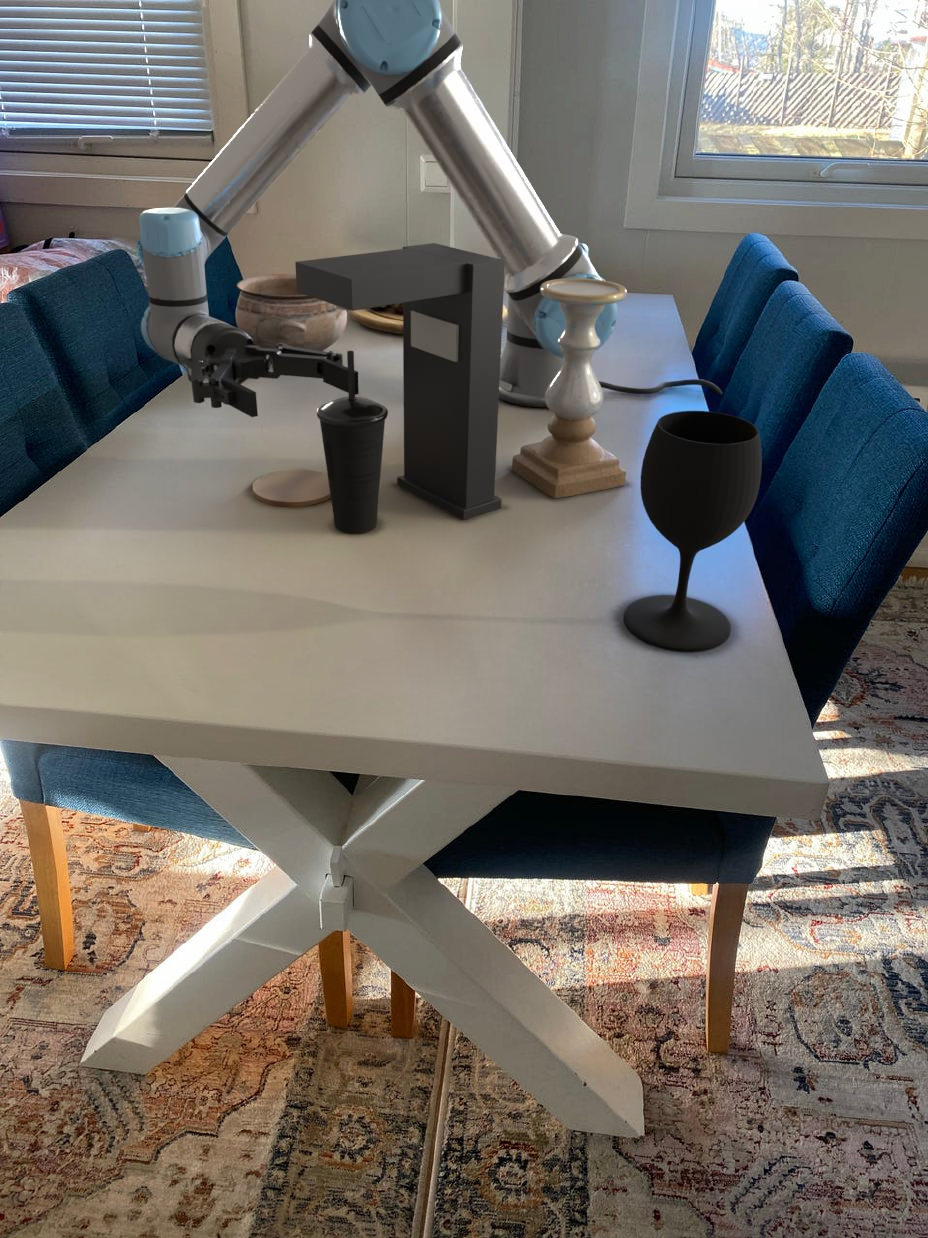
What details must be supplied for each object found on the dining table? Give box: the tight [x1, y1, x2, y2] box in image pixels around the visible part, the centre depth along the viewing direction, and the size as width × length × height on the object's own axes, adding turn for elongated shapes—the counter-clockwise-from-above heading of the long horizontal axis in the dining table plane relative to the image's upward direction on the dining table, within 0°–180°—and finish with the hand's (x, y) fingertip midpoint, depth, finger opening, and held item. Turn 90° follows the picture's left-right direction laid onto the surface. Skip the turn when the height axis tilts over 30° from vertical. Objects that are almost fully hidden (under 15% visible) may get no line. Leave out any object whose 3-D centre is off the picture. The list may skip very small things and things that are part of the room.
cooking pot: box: [235, 273, 348, 351], centre depth 168 cm, size 25×19×12 cm
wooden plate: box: [349, 303, 508, 335], centre depth 195 cm, size 32×32×8 cm
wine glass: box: [623, 410, 763, 653], centre depth 90 cm, size 10×10×20 cm
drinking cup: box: [316, 350, 389, 535], centre depth 107 cm, size 8×8×20 cm
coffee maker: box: [294, 242, 506, 521], centre depth 109 cm, size 20×13×28 cm, turn 130°
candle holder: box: [511, 278, 628, 499], centre depth 120 cm, size 11×11×24 cm
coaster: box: [251, 468, 331, 508], centre depth 120 cm, size 10×10×1 cm
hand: (306, 393), depth 111 cm, fingers open, 13 cm apart
